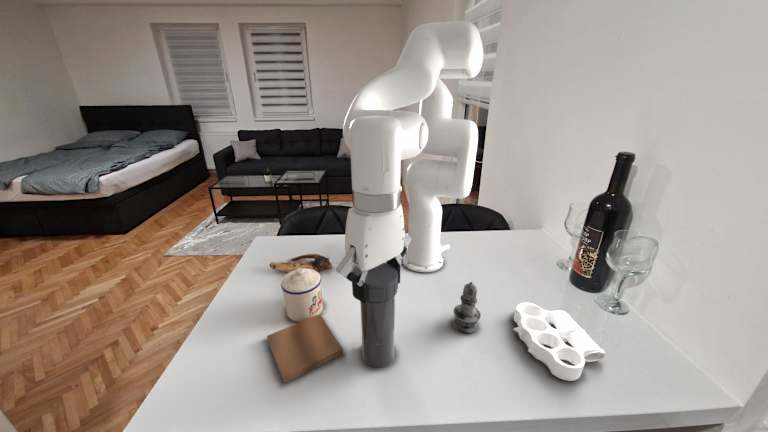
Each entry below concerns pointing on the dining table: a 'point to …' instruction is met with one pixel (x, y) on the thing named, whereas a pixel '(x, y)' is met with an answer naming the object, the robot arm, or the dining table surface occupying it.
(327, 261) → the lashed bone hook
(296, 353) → the coaster
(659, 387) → the dining table surface
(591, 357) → the white brass knuckles
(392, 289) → the thermos lid
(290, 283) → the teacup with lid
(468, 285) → the dark stone figurine
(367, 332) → the thermos
